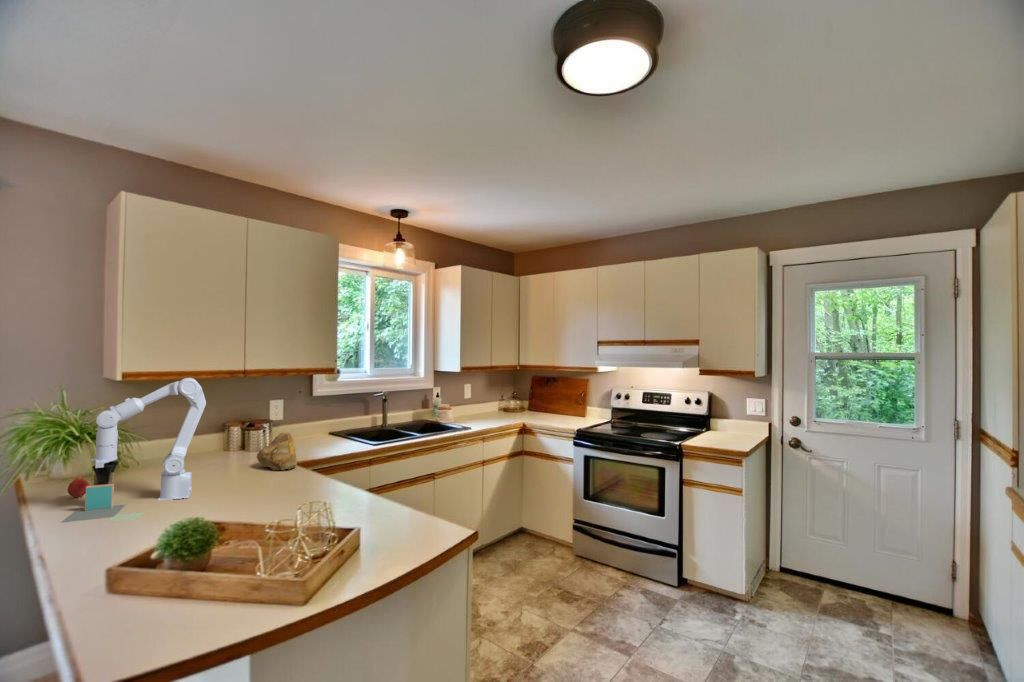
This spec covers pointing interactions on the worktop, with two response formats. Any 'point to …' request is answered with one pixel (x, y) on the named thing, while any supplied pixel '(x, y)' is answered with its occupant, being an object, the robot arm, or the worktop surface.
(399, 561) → the worktop surface
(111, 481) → the walnut block
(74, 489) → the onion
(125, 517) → the rest pad
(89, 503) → the tile
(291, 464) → the rough brown rock
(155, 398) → the robot arm
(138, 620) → the worktop surface
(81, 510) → the mat
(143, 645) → the worktop surface
